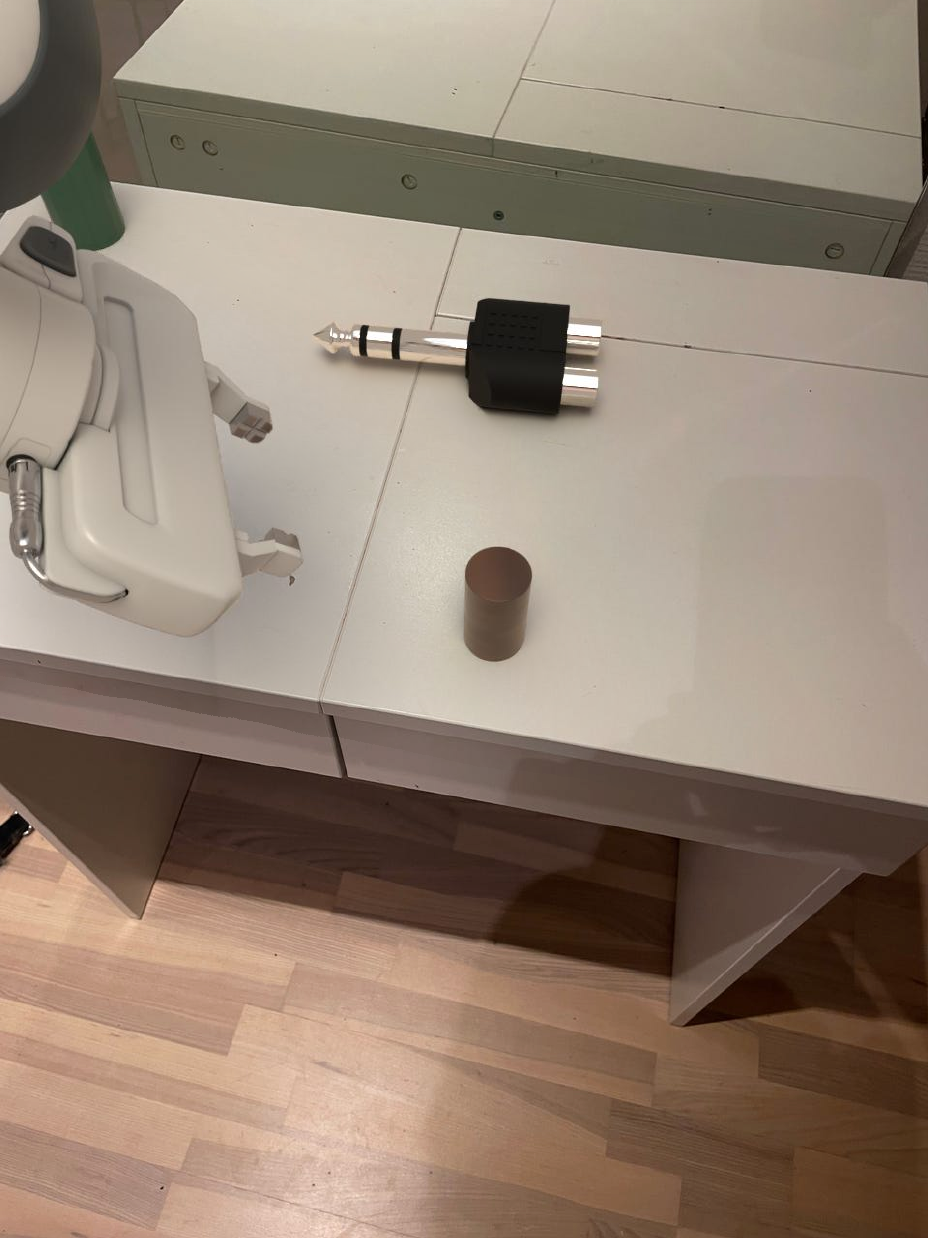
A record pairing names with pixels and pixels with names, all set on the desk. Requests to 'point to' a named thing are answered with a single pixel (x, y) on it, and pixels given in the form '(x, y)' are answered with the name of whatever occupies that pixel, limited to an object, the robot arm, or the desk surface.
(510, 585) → the brown cylinder
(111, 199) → the bottle
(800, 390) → the desk surface
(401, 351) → the audio adapter
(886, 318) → the desk surface
